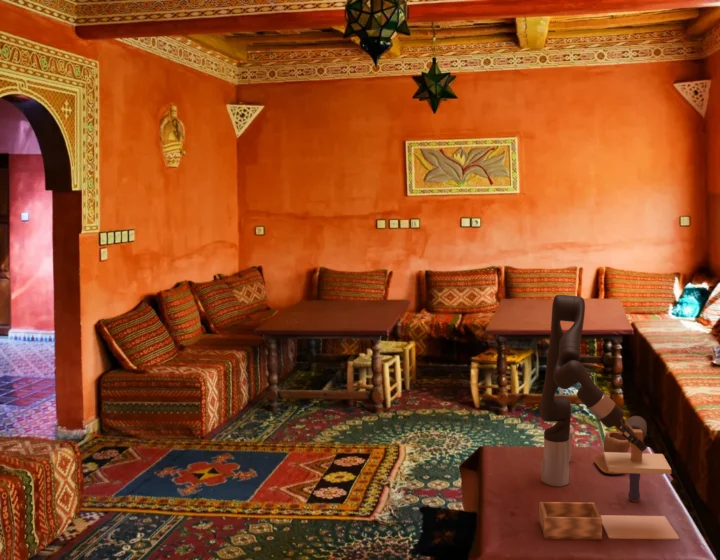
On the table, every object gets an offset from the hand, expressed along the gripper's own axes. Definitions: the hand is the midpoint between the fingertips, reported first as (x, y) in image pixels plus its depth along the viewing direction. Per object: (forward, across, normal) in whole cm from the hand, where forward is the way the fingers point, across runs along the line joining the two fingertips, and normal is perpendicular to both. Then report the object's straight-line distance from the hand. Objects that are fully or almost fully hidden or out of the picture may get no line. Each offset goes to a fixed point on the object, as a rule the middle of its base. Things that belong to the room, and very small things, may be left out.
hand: (643, 447), depth 267 cm
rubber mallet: (+21, +23, +19) cm, 36 cm away
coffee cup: (+5, +61, +35) cm, 70 cm away
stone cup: (+19, +53, +21) cm, 60 cm away
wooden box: (+3, -5, +36) cm, 37 cm away
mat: (+19, 0, +20) cm, 28 cm away
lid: (+3, 0, +6) cm, 6 cm away
